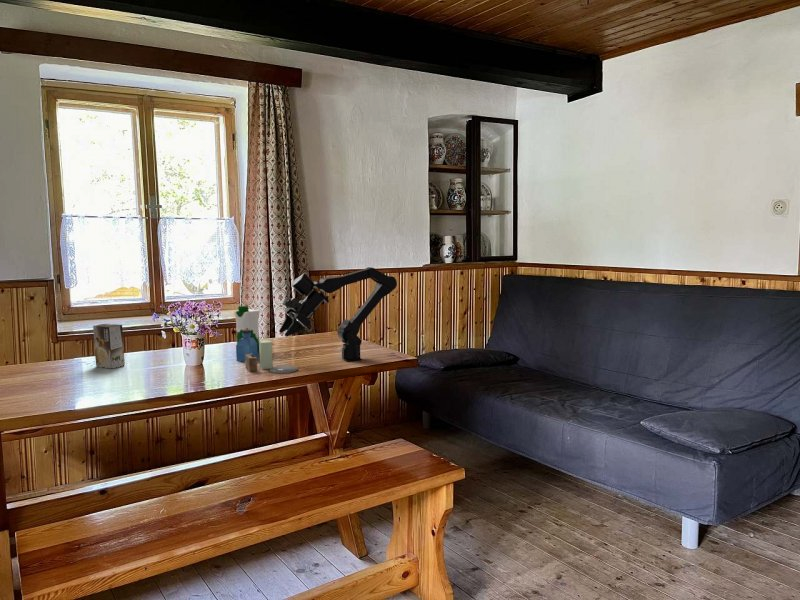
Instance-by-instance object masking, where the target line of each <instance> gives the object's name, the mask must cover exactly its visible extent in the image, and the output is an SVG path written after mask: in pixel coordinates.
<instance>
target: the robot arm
mask: <svg viewBox="0 0 800 600" xmlns="http://www.w3.org/2000/svg"><path fill="white" fill-rule="evenodd" d="M368 279H371V280H372V281H373V282H375V285H374V288H373V291H372V292H371V293H370V295H369V296H368V297H367V298H366V300H365V301H364V303H363V304H362V305H361V306H360V307H359V309H358V310H357V311H356V313H354V315H353V316H352V317H351V318H350V319H346V318H344V319H343V321H342V322H341V324H340V325H338V326H337V327H338V329H337V331H336V332H337V333H336V334H337V337H338V338H339V339H340V340H341V342H342V343H343V344H342V348H341V360H344V361H346V362H352V361H353V362H354V361H355V362H356V361H362V360H363V359H362V358H361V346H362V345H361V344H362V342H363V341H362V340H363V339H361V338H360V337H359V336H358V333H359V332H360V329H361V325H362V324H363V323H364V322H365V320H366V319H367V318H368V317H369V316H370V314H371V313H372V312H373V310H375V308H376V307H377V306H378V304H379V303H380V302H381V301H382V299H383V298H385V297H386V296H388V295H389V294H391V293H392V292H393V291H394V290H395V289H396V287H397V286H398V283H397V282H398V281H397V280H396V278H395V277H394V276H392V275H387V274H385V273H383V272H381V271H379V270H377V269H376V268H375V267H366V268H363V269H360V270H356V271H353V272H350V273H346V274H343V275H337V276H325V277H322V278H320V279H319V280H318V281H313V280H312V279H311V278H310V277H309V276H308V275H307V274H306V273H305V272H304V273H302V274H301V275H299V276H298V277H296V278H295V279H294V280H293V281H292V282H291V287H292V288H293V289H294V290H296V291H297V292H298V293H299V294H300V295H301V296H304V295H305V298H304V299H303V300H299V299H298V298H296V297H292V298H289V297H287V296H285V297H284V300H283V303H282V305H283V306H285V307H287V308H286V309H285V310H284V321H283V323H282V324H281V327H280V328H279V330H278V331H279V333H280V334H282V333H284V332H285V333H284V336H285V337H286V338H287V337H290V336H291V335H294V334H296V333H299V332H300V331H303V330H305V329H308V328H310V326H311V325H312V322H311V320H310V319H309V317H310V316H312V314H315V313H316V310H317V308H318V307H319V306H320V305H321V304H322V302H324V303H327V304H329V303H330V299H329V298H330V295H328V294H332V293H334V292H336V291H338V290H340V289H341V288H343V287H345V286H347V285H351V284H354V283H357V282H361V281H364V280H368ZM317 289H319V290H317ZM324 293H327V295H325V294H324Z"/></svg>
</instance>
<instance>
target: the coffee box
mask: <svg viewBox="0 0 800 600" xmlns="http://www.w3.org/2000/svg"><path fill="white" fill-rule="evenodd" d="M92 328H93V329H92V330H93V342H94V343H93V345H94V357H95V358H94V359H95V367H96V366H97V367H96V368H102V367H105V368H104V369H111V368H113V369H116V367H117V368H121V367H124V366H123V365H125V366H126V362H125V346H124V331H123V324H116V323H102V324H95V325H92ZM120 366H121V367H120Z"/></svg>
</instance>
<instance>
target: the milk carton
mask: <svg viewBox="0 0 800 600" xmlns="http://www.w3.org/2000/svg"><path fill="white" fill-rule="evenodd" d="M237 307H238V308H237V309H238V310H235V311H233V313H234V318H235V324H236V325H235V326H236V327H235V328H236V344H237V343H238V341H239V339H241V338H243V336H242V333H243V331H242V330H246V329H248V330H250V333H251V336H250V338H254V339H255V341H256V342H257V349H258V353H259V341H260V334H259V333H260V331H259V329H260V327H259V326H260V324H259V323H260V322H259V319H260V315H261V314H260V313H261V310H260V309H249V306H248V305H239V306H237Z"/></svg>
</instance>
